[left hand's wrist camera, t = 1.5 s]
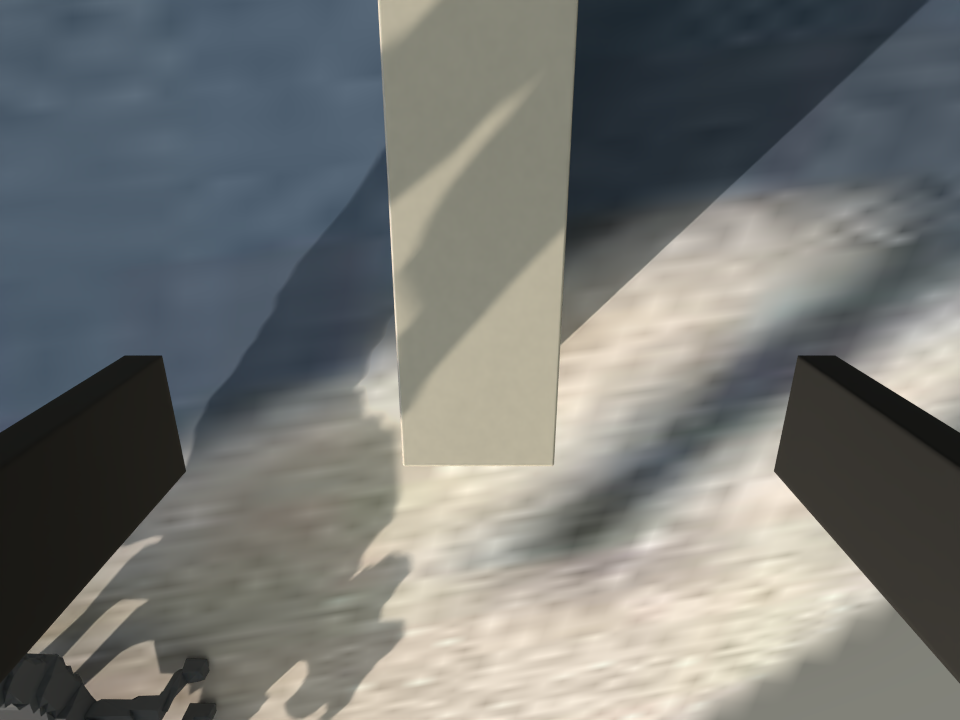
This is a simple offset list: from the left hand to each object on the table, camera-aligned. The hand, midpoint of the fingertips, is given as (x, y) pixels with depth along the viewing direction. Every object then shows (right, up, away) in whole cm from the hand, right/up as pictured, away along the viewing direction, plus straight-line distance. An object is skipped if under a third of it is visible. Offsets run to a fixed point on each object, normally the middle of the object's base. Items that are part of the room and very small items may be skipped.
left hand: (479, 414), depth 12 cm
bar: (0, +30, +4) cm, 30 cm away
